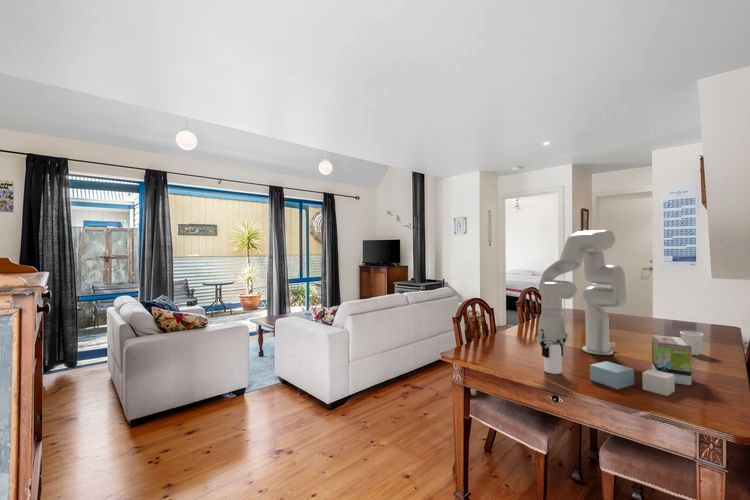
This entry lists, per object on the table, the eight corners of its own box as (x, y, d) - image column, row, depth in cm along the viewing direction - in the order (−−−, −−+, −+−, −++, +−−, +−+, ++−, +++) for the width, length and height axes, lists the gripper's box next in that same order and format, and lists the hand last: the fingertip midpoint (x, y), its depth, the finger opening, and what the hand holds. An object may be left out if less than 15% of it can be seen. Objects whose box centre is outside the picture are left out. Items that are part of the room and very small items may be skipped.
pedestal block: (606, 376, 136) (606, 361, 136) (634, 385, 127) (634, 368, 127) (590, 380, 132) (589, 364, 132) (617, 389, 123) (617, 372, 123)
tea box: (693, 386, 124) (692, 345, 125) (657, 381, 130) (656, 341, 130) (683, 373, 137) (682, 336, 137) (651, 369, 142) (650, 333, 143)
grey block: (650, 385, 126) (650, 368, 126) (674, 391, 120) (674, 374, 120) (642, 389, 122) (642, 372, 122) (667, 396, 116) (667, 378, 116)
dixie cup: (694, 351, 167) (693, 330, 167) (709, 356, 158) (708, 335, 158) (675, 351, 168) (675, 330, 168) (689, 356, 159) (689, 334, 159)
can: (564, 375, 137) (563, 345, 137) (546, 374, 138) (546, 344, 138) (558, 369, 143) (558, 340, 143) (542, 368, 144) (541, 340, 145)
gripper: (560, 309, 147) (561, 351, 147) (527, 312, 142) (528, 355, 142) (575, 312, 140) (576, 356, 140) (541, 315, 135) (542, 361, 134)
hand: (552, 355), depth 141 cm, fingers closed on can, 6 cm apart
